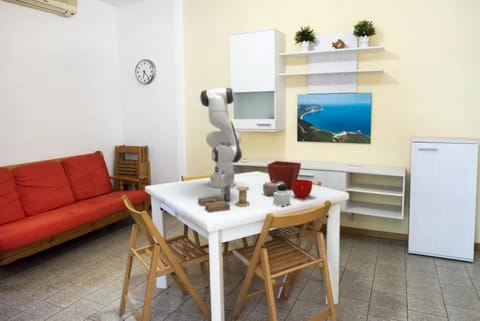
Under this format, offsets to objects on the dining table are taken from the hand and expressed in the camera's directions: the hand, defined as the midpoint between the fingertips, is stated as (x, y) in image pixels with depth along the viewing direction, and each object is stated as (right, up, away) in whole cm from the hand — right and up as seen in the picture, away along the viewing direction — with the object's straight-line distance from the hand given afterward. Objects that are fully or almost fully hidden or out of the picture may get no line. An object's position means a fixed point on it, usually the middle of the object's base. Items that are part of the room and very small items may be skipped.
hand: (225, 192), depth 220 cm
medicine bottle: (+33, -7, -5) cm, 34 cm away
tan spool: (+10, -6, -5) cm, 13 cm away
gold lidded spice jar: (+1, -5, +1) cm, 5 cm away
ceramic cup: (+47, -4, +10) cm, 48 cm away
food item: (+31, -3, +18) cm, 35 cm away
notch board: (-7, -7, -9) cm, 13 cm away
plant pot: (+40, 0, +39) cm, 55 cm away
